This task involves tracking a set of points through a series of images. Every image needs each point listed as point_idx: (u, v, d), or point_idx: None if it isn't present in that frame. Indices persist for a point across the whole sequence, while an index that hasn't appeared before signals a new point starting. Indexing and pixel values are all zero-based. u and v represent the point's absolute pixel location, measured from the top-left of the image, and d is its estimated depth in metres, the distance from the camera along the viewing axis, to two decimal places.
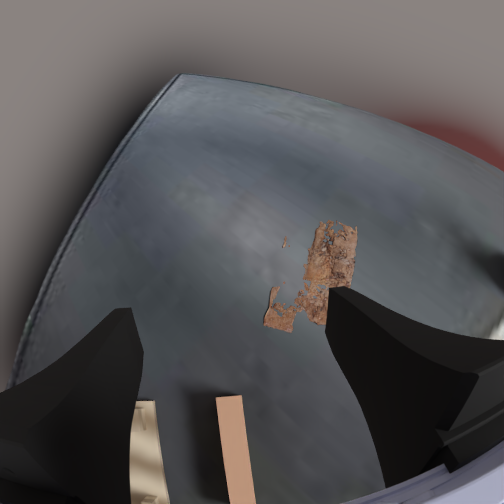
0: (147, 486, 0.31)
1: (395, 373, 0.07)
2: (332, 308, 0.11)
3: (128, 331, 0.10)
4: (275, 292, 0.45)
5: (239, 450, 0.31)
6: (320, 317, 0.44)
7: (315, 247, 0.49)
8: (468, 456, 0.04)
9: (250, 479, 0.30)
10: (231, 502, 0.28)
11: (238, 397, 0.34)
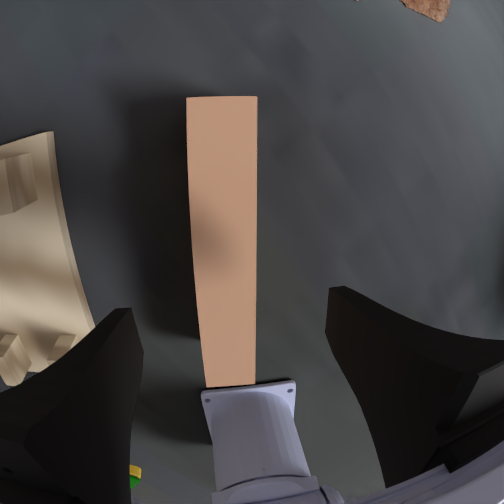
0: (56, 318, 0.19)
1: (395, 373, 0.07)
2: (332, 308, 0.11)
3: (128, 331, 0.10)
4: None
5: (235, 247, 0.15)
6: None
7: None
8: (468, 456, 0.04)
9: (251, 318, 0.16)
10: (206, 363, 0.17)
11: (248, 101, 0.12)
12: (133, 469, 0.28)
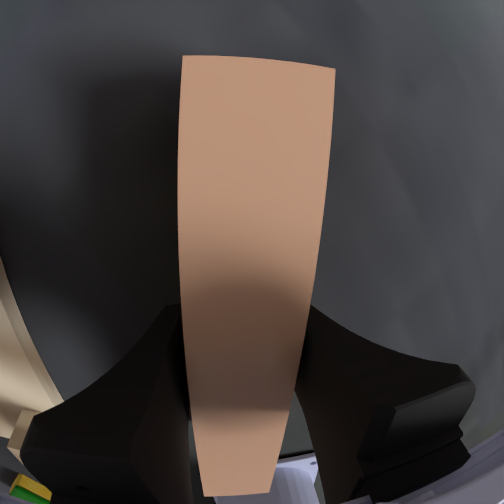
0: (14, 391, 0.12)
1: (325, 390, 0.07)
2: None
3: None
4: None
5: (263, 357, 0.08)
6: None
7: None
8: (394, 491, 0.04)
9: (276, 439, 0.09)
10: (204, 479, 0.10)
11: (318, 76, 0.05)
12: None
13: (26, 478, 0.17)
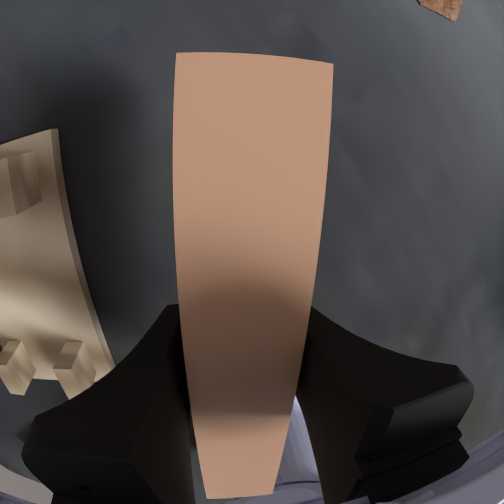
0: (62, 324, 0.18)
1: (324, 391, 0.07)
2: None
3: None
4: None
5: (264, 359, 0.08)
6: None
7: None
8: (392, 492, 0.04)
9: (279, 441, 0.09)
10: (207, 481, 0.10)
11: (315, 72, 0.05)
12: None
13: None
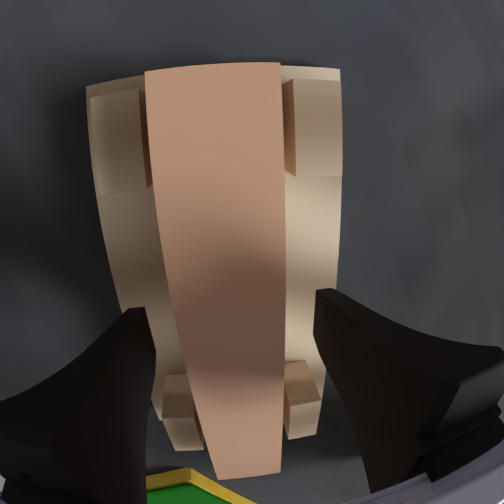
0: None
1: (378, 378, 0.07)
2: (319, 310, 0.11)
3: (142, 330, 0.10)
4: None
5: (249, 332, 0.09)
6: None
7: None
8: (451, 466, 0.04)
9: (277, 414, 0.10)
10: (215, 460, 0.11)
11: (264, 72, 0.06)
12: None
13: (194, 472, 0.21)
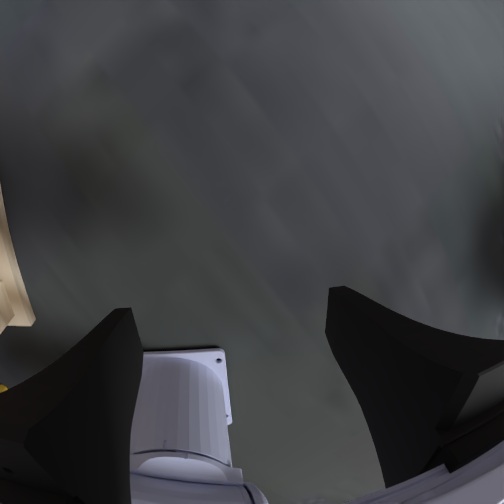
0: None
1: (395, 373, 0.07)
2: (332, 308, 0.11)
3: (128, 331, 0.10)
4: None
5: None
6: None
7: None
8: (468, 456, 0.04)
9: None
10: None
11: None
12: None
13: None
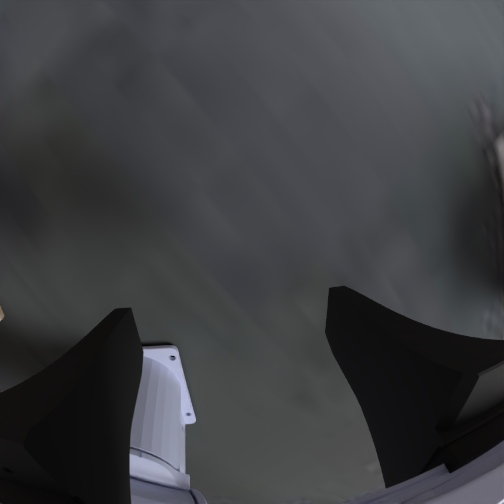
0: None
1: (395, 373, 0.07)
2: (332, 308, 0.11)
3: (128, 331, 0.10)
4: None
5: None
6: None
7: None
8: (468, 456, 0.04)
9: None
10: None
11: None
12: None
13: None
